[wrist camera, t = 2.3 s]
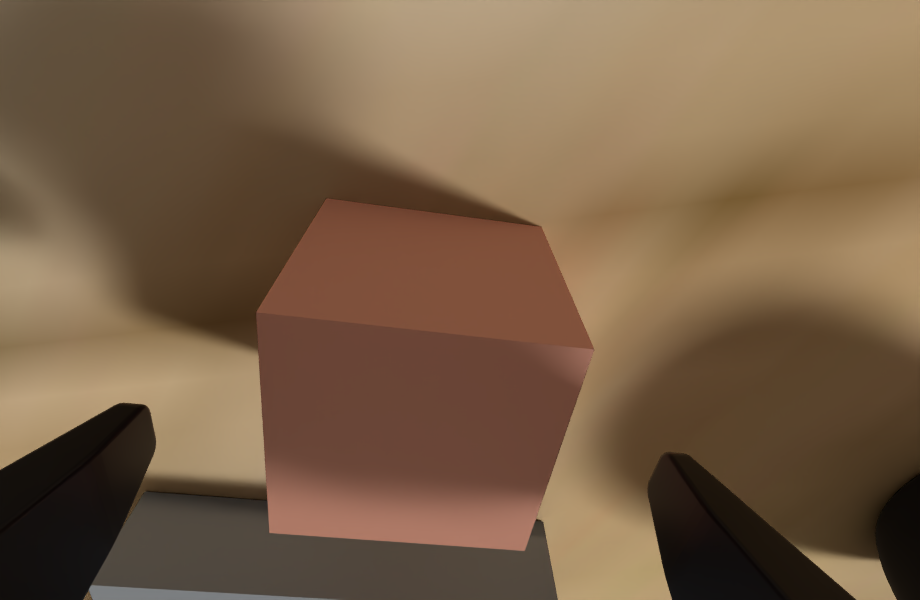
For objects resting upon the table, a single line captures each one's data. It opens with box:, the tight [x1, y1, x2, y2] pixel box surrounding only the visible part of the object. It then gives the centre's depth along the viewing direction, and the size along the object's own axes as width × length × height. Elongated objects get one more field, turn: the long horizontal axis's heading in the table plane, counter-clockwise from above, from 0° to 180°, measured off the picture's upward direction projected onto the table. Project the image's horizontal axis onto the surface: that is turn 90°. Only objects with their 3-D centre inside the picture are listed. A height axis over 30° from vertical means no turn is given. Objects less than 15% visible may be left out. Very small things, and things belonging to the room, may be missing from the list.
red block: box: [256, 198, 594, 551], centre depth 11 cm, size 5×5×5 cm
